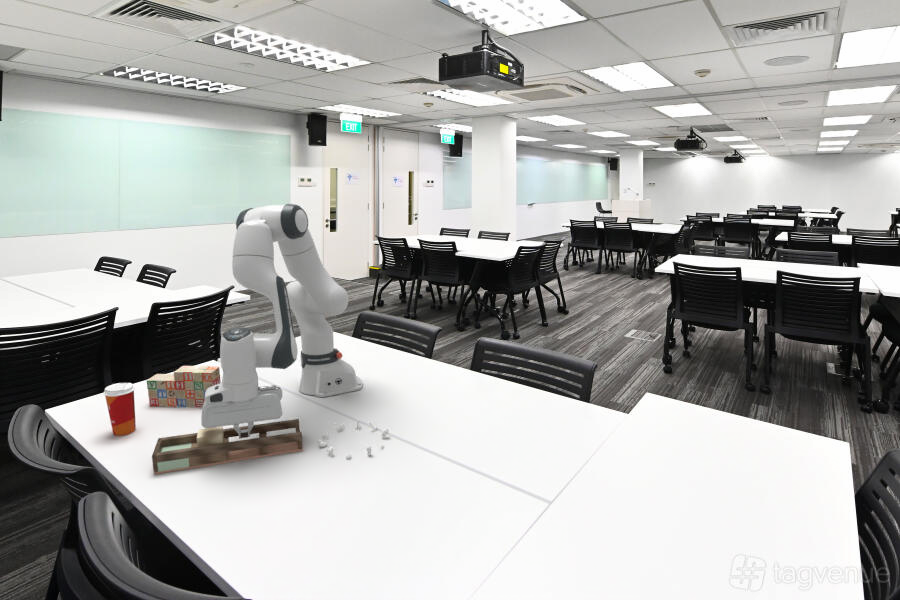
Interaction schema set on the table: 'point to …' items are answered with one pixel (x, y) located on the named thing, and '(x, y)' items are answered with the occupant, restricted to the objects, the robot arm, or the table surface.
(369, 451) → the game piece set
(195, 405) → the stack of blocks
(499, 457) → the table surface
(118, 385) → the paper cup
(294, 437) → the track
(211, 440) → the maple block
